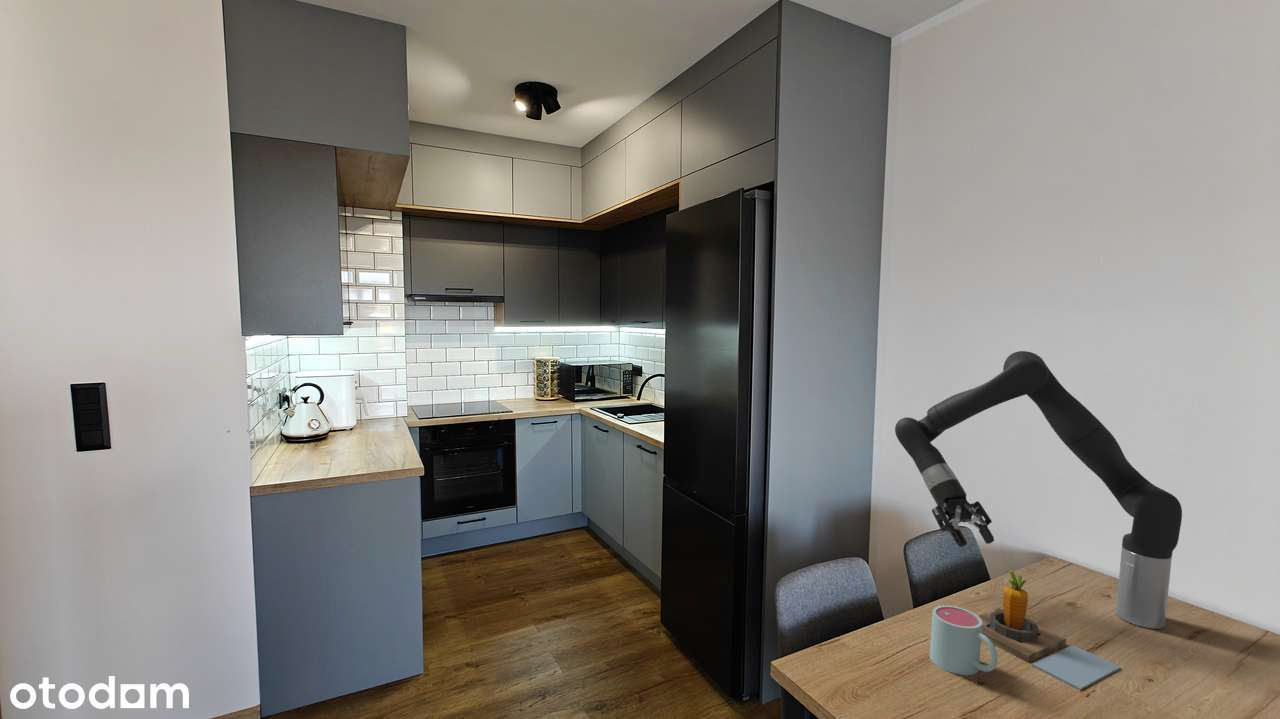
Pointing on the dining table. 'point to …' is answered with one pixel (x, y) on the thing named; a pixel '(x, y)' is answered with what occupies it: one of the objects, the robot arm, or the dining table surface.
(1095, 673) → the slate mat
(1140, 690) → the dining table surface
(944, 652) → the mug
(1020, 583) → the carrot
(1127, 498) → the robot arm
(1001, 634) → the ring stand
